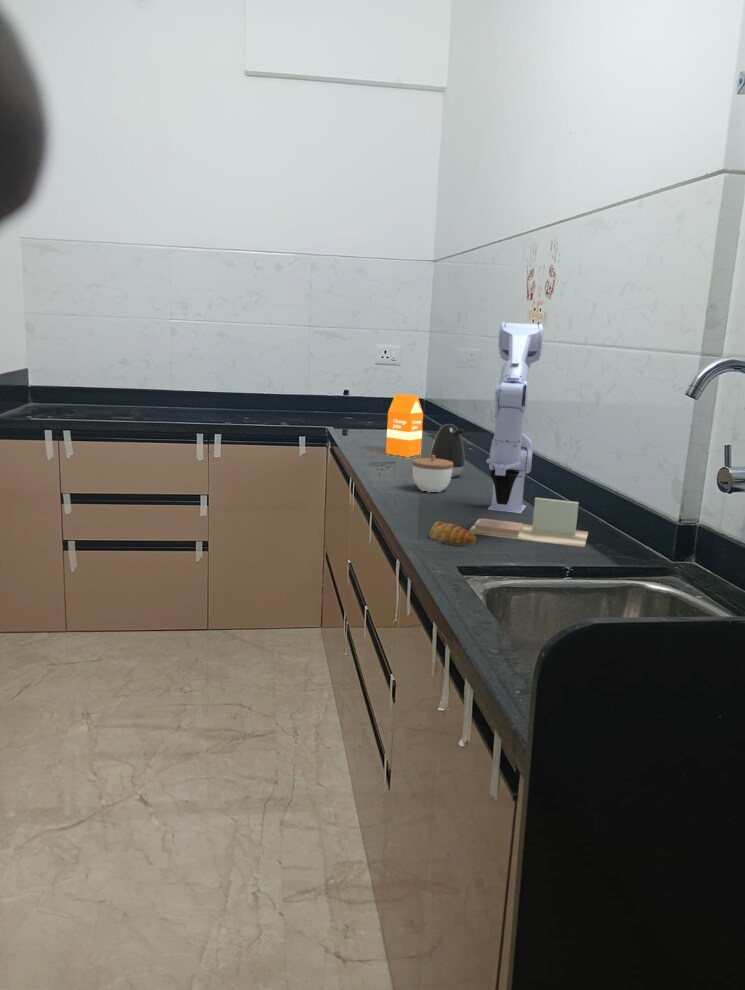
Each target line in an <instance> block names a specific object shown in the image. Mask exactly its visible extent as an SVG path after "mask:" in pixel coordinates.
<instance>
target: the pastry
mask: <svg viewBox="0 0 745 990" xmlns="http://www.w3.org/2000/svg"><path fill="white" fill-rule="evenodd" d="M429 530H430V531H429V535H428V537H429V538H430V539H432V540H435V541H440V542H441V544H442V545H448V546H452V545H454V547H460V546H462V547H463V545H466V547H469V546H468V545H474V544H476V542H477V537H476V536H475V535H476V534H472V533H471V532H470V531H469V530H468V529H466V528H464V527H462V526H460V525H459V524H456V523H454V524H453V523H451V522H448V523H445V522H443V521H442V520H441V521H440V520H438V521H436V522H434V524H433V525H432V527H431V528H430V529H429Z"/></svg>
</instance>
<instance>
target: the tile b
mask: <svg viewBox="0 0 745 990" xmlns="http://www.w3.org/2000/svg"><path fill="white" fill-rule="evenodd" d="M578 512H579V501H571V500H562V499H561V500H560V499H555V498H553V499H552V498H543V497H535V498H534V507H533V515H532V516H533V517H532V525H533V526H532V531H540V532H548V533H556V534H565V535H573V536H575V534H576V530H577V522H578Z"/></svg>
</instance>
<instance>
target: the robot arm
mask: <svg viewBox="0 0 745 990" xmlns="http://www.w3.org/2000/svg"><path fill="white" fill-rule="evenodd" d="M543 340H544V325H543V323H539V324H538V323H523V322H522V323H521V322H520V323H519V322H518V323H517V322H505V321H502V322H501V323H500V326H499V332H498V350H499V356H500V359H502V360H503V361H506V362H504V364H503V365H502V367H501V372H500V378H499V385H498V384H496V387H495V392H494V410H495V411H494V418H495V423H494V433H493V439H492V440H491V445H490V449H489V457H488V458H487V459H486V464H488V468H489V469H490V477H491V479H492V481H493V485H492V497H491V505H490V506H489V507H488V508H487V510H489V511H499V512H507V513H508V512H509V513H515V514H517V513H518V514H522V513H523V511H524V510H525V509H526V508H527V505H526V504H523V499H524V489H525V488H524V487H525V477H526V474H527V475H528V474H529V473H530V472H531V471H532V470H531V469H532V459H533V442H532V439H530V438H529V437H528V436H527V435H526V434H525V433H524V432H523V427H524V419H525V418H524V417H525V416H524V415H525V411H526V409H527V406H528V398H529V397H528V396H529V385H528V380H529V372H530V371H529V370H530V367H531V366H532V364H533V363H535V362H538V361H539V360H540V357H541V355H542V349H543Z"/></svg>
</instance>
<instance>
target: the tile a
mask: <svg viewBox="0 0 745 990" xmlns="http://www.w3.org/2000/svg"><path fill="white" fill-rule="evenodd" d="M480 519H481V520H480V521H479V522H478V523H477V524H476V529H475V532H481V533H490V534H498V535H506V536H514V537H519V535H520V533H521V532H522V530H523V524H524V523H523V522H515V521H507V520H497V519H489V518H480Z"/></svg>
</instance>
